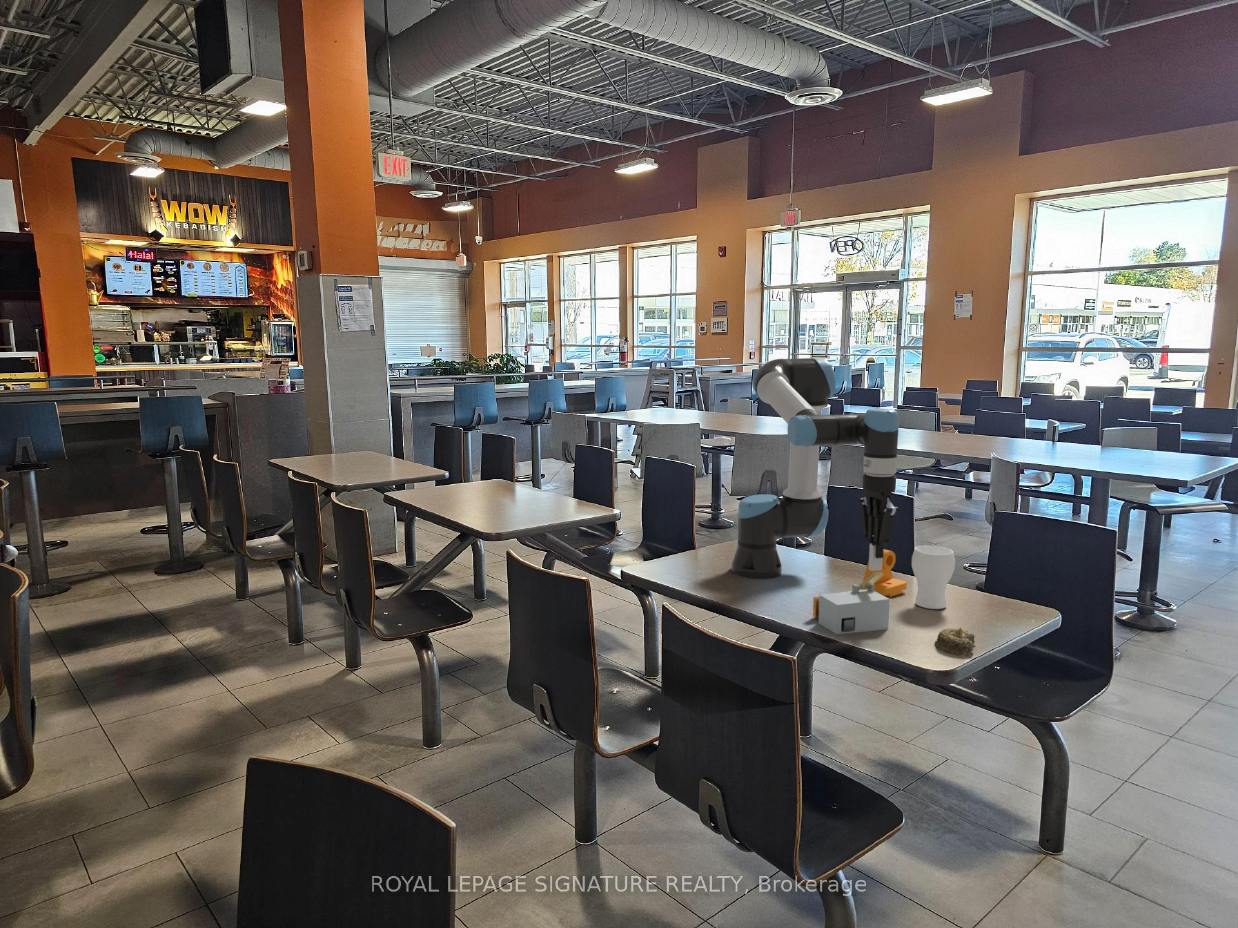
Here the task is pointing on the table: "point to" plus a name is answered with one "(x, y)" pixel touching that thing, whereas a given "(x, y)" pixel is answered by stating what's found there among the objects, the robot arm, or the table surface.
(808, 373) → the robot arm
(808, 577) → the table surface
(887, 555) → the bracket
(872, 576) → the latch bar
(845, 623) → the pin
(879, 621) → the block
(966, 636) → the olive green round lump
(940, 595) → the cup
